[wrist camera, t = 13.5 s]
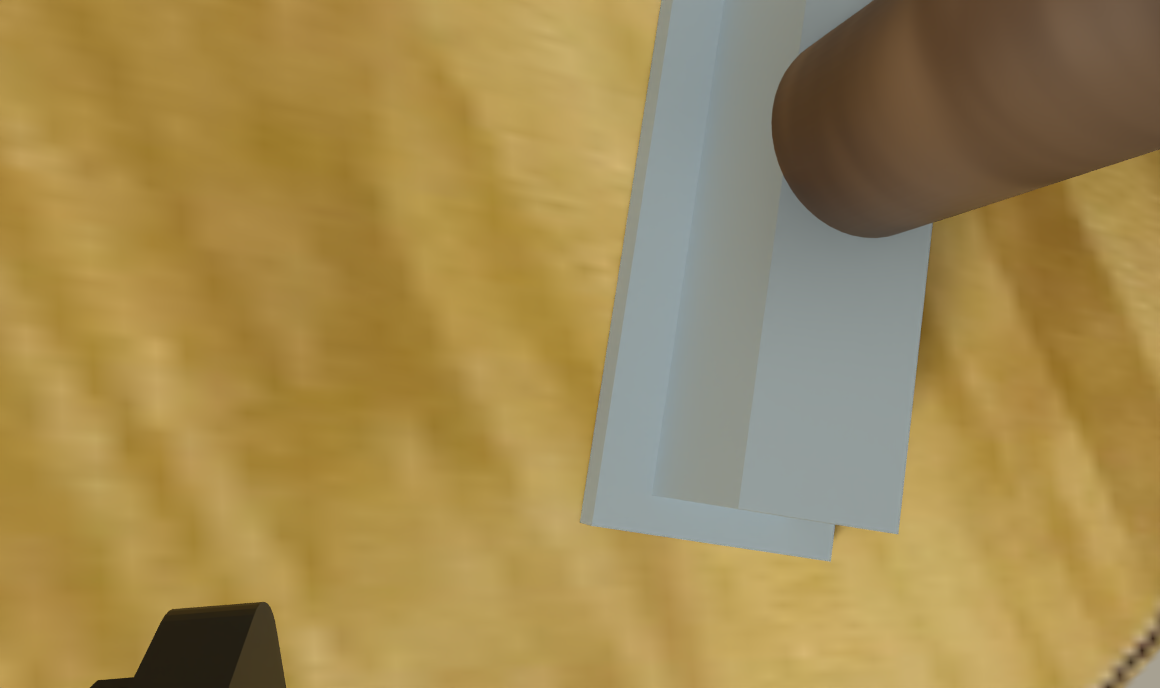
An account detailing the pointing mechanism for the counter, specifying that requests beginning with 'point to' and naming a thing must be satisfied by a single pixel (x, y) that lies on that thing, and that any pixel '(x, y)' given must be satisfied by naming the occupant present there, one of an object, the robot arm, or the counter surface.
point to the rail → (749, 313)
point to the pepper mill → (963, 105)
